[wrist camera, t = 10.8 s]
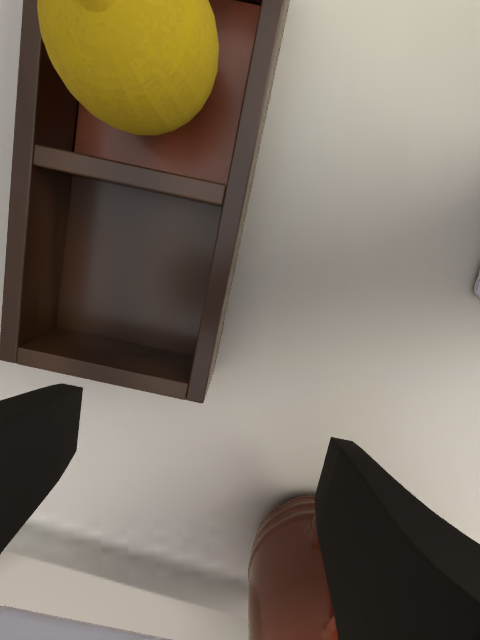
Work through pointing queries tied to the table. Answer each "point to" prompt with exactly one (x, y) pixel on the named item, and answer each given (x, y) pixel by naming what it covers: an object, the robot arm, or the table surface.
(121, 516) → the table surface
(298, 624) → the mug
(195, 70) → the lemon
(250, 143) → the caddy
